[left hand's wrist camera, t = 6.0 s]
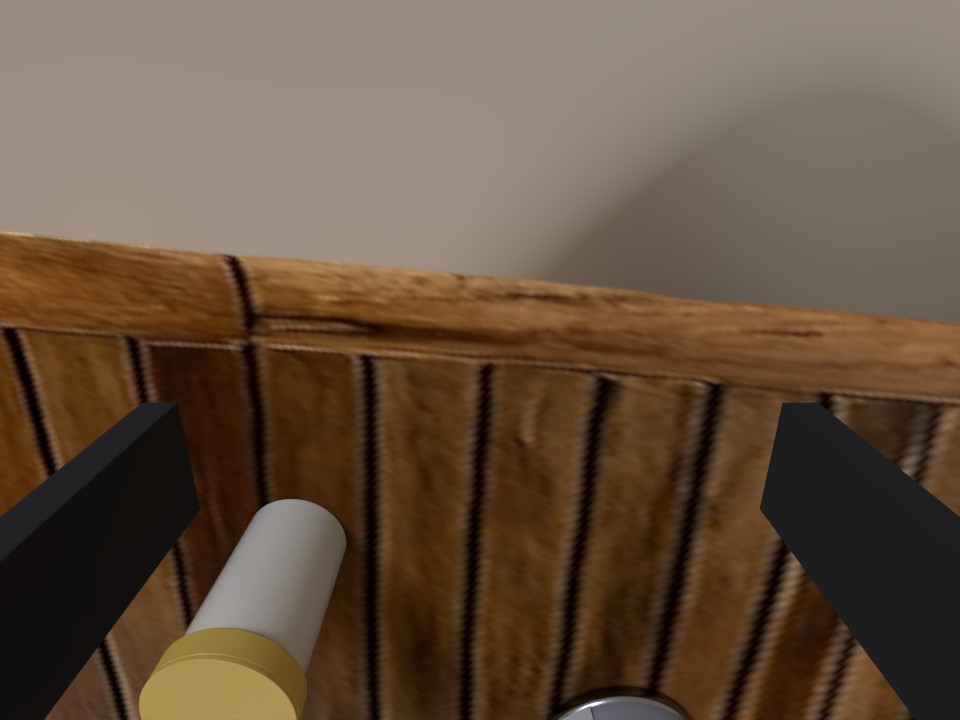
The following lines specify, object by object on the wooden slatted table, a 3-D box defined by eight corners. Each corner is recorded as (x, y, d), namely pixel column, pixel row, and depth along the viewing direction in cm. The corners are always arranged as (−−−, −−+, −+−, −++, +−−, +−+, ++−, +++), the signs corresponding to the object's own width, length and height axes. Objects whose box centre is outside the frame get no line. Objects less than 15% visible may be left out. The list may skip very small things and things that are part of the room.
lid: (315, 732, 37) (305, 768, 35) (175, 734, 37) (157, 769, 35) (297, 626, 34) (285, 659, 32) (143, 627, 34) (121, 660, 32)
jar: (351, 577, 49) (299, 756, 35) (256, 578, 50) (167, 757, 35) (341, 498, 46) (280, 658, 32) (240, 499, 47) (136, 659, 32)
